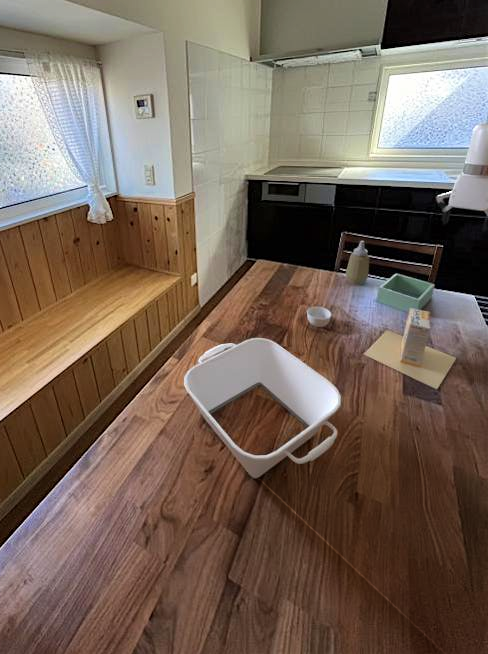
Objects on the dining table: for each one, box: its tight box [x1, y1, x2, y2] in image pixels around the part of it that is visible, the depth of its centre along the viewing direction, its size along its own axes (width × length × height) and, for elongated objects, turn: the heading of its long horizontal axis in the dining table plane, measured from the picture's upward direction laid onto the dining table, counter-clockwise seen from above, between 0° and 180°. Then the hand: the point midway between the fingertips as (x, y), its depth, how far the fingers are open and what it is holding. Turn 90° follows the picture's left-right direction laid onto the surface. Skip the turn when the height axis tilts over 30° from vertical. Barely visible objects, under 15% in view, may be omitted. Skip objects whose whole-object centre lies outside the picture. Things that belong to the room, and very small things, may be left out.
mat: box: [363, 329, 457, 390], centre depth 94 cm, size 18×16×1 cm
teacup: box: [306, 306, 332, 328], centre depth 110 cm, size 10×10×5 cm
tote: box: [375, 272, 435, 313], centre depth 119 cm, size 13×15×6 cm
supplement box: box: [400, 308, 432, 367], centre depth 91 cm, size 8×5×13 cm, turn 149°
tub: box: [183, 337, 342, 479], centre depth 75 cm, size 34×27×13 cm
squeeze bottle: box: [345, 240, 370, 286], centre depth 131 cm, size 8×8×18 cm
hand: (464, 226), depth 103 cm, fingers open, 9 cm apart
